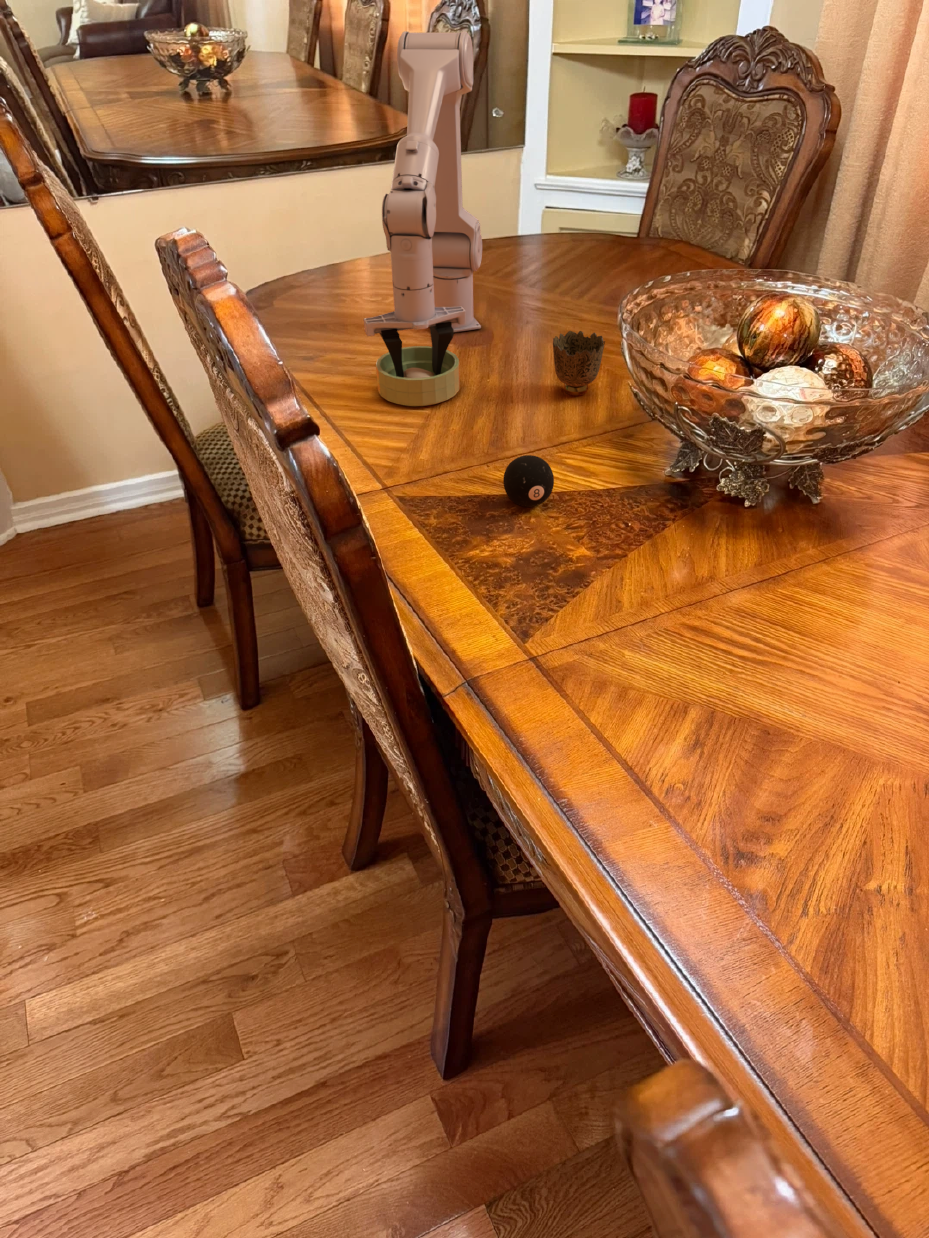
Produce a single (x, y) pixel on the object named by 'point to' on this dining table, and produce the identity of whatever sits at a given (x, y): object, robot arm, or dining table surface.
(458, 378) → the bowl
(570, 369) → the cup
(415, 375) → the seashell
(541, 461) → the billiard ball
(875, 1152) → the dining table surface
